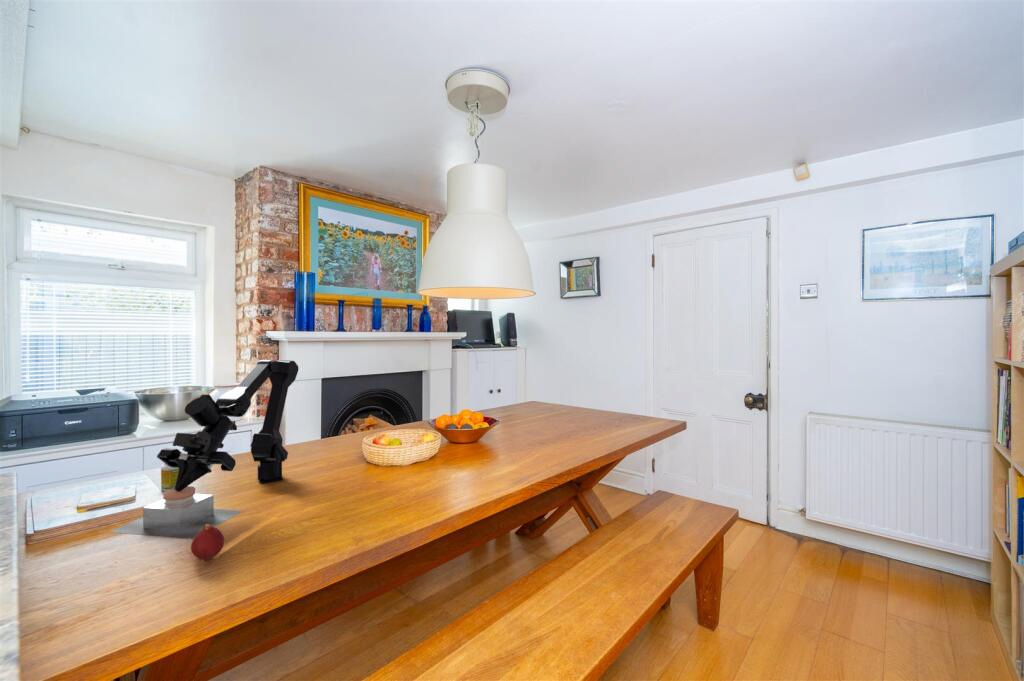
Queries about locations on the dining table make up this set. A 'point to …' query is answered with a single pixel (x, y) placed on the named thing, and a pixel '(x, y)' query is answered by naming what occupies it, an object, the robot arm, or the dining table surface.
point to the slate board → (186, 533)
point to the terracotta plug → (178, 496)
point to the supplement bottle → (168, 477)
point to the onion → (207, 543)
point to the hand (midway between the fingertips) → (177, 490)
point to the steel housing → (178, 513)
